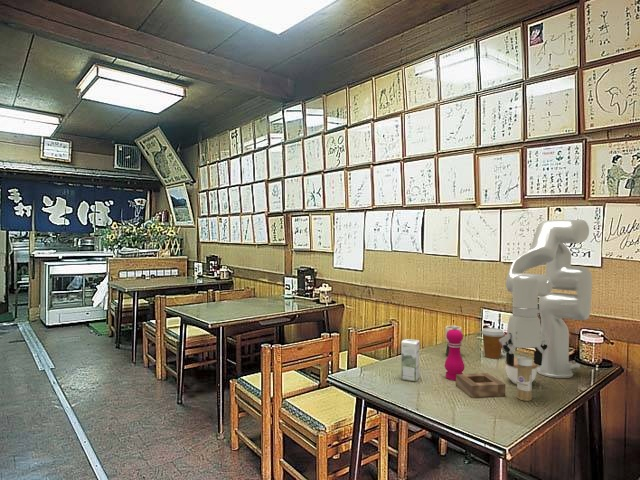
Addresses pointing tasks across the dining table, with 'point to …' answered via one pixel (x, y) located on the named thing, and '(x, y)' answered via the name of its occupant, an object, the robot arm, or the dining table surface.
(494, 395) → the socket block
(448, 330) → the character mug
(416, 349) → the syrup box
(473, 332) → the dining table surface
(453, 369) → the pepper mill
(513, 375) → the lidded jar
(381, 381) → the dining table surface
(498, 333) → the disposable coffee cup
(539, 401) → the dining table surface
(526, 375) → the sprinkles bottle
